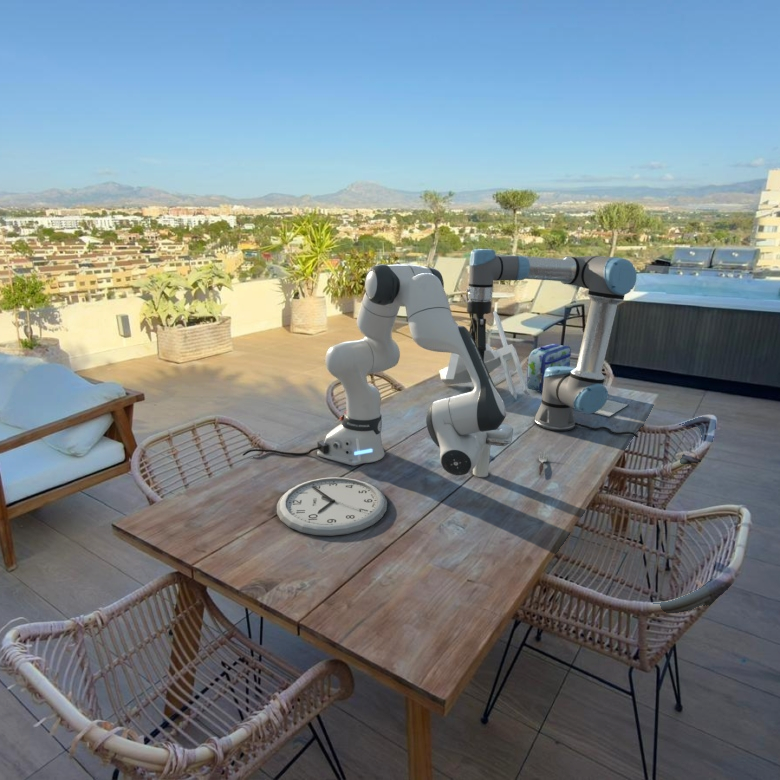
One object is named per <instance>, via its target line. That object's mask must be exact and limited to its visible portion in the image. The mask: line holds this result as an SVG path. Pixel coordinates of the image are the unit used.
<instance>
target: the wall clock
mask: <svg viewBox="0 0 780 780" xmlns="http://www.w3.org/2000/svg"><path fill="white" fill-rule="evenodd" d="M387 509H388V500H387V498H386V496H385V494H384V493H383V492H382V491H381V490H380V489H379V488H377V487H376V486H374V485H372V484H371V483H369V482H365V481H362V480H359V479H355V478H349V477H338V476H337V477H335V476H333V477H332V476H331V477H322V478H317V479H312V480H307V481H305V482H302V483H299V484H297V485H295V486H293V487H292V488H290V489H288V490H287V491H286V492H285V493H284V494H283V495H281V496H280V498H279V499H278V502H277V503H276V515H277V517H278V518H279V520H280V521H281V522H282V523H283V524H285V525H286V526H287V527H288V528H290V529H293V530H295V531H297V532H299V533H303V534H308V535H312V536H327V537H328V536H329V537H331V536H332V537H333V536H342V535H350V534H352V533H356V532H361V531H363V530H366V529H368V528H369V527H372V526H373V525H375V524H376V523H378V522H379V521H380V520H381V519H382V518H383V517H384V516H385V514H386V512H387Z"/></svg>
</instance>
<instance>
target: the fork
mask: <svg viewBox="0 0 780 780" xmlns="http://www.w3.org/2000/svg"><path fill="white" fill-rule="evenodd" d="M538 461H539V462H540V465H539V467H538V468H539V469H538V470H539V475H541V474H542V472H543V470H544V463H546V462H547V461H548V451H547V452H546V454H544V452H542V451H540V453H539V457H538Z"/></svg>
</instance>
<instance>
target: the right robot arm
mask: <svg viewBox="0 0 780 780" xmlns="http://www.w3.org/2000/svg"><path fill="white" fill-rule="evenodd" d="M468 266H469V268H468V288H467V289H466V290H465V291H466V293H467V299H468V300H467V302H466V303H467V304H466V312H467V313H468V314H470V315H471V317H470V324H469V329H468V331H469V332H470V334H471V335H472V337H473V339H474V341H475V343H476V345H477V347H478V349H479V352H480V354H481V356H482V358H483V361H484V351H486V344H487V334H486V332H487V331H486V330H487V329H486V327H487V326H486V325H487V323H486V322H487V319H486V318H485V317H484V315H488V314H491V312H492V301H491V300H492V299H493V293H494V292H493V291H494V290H493V289H494V282H495V281H515V282H517V281H524V280H535V281H552V282H560V283H561V284H562V285H569V286H575V287H579V288H582V289H587V290H588V292H587V296H588V298H589V299H590V304H589V309H588V313H587V318H586V322H585V326H584V330H583V336H582V340H581V345H580V348H579V354H578V358H577V363H576V367H573V366H570V367H565V366H556V367H549V368H547V369H546V370H545V374H544V381H543V391H542V393H541V402H540V405H539V407H538V410H537V411H536V413H535V417H534V424H535V425H536V426H537V427H539V428H542V429H544V430H549V431H556V432H567V431H572V430H574V429H575V428H576V426H579V427H583V428H586V429H589V430H592V431H600V430H606V431H608V432H609V433H610V434H613V435H619V436H620V435H632V436H634V437H635V438H639V435H638V434H637V433H635V432H633V431H622V432H621V431H613V430H611V428H609V427H606V426H598V427H592V426H589V425H586V424H582V423H579V422H576V418H575V417H576V416H575V413H574V410H575V411H576V412H580V413H583V414H587V415H590V414H596V413H595V412H597V411H598V410H599V409H601V408H602V407H603V406H604V404H605V403H606V401H607V400H608V399H609V391H608V388H606V386H605V385H604V383H605V379H606V377H605V376H604V374H603V372H602V371H603V367H604V363H605V359H606V355H607V351H608V346H609V343H610V338H611V333H612V329H613V325H614V321H615V318H616V317H615V316H616V312H617V309H618V305H619V304H620V303H622V302H623V301H624V299H625V295H627V294H630V292H632V290H633V289H634V287H635V285H636V283H637V277H638V275H637V270H636V267H635V266H634V263H632V262H631V261H630V260H628V259H626V258H623V257H617V256H601V255H587V256H586V255H585V256H565V257H564V258H553V257H541V256H540V257H538V256H526V255H525V256H524V255H513V254H512V255H511V254H499V253H498V254H497V253H496V251H495V249H488V248H485V249H484V248H474V249H472V250H471V252H470V257H469V262H468Z"/></svg>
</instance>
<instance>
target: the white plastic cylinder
mask: <svg viewBox="0 0 780 780" xmlns="http://www.w3.org/2000/svg"><path fill="white" fill-rule="evenodd" d="M491 446H492V445H488V444H486V445H485V447H484V449H483V452H482V453H481V456H480V459H479V461H478V463H477V464H476V466H475V467H474V468H473V470H472V475H474V476H475V477H478V478H486V477H488V476H489V470H490V457H491Z"/></svg>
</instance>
